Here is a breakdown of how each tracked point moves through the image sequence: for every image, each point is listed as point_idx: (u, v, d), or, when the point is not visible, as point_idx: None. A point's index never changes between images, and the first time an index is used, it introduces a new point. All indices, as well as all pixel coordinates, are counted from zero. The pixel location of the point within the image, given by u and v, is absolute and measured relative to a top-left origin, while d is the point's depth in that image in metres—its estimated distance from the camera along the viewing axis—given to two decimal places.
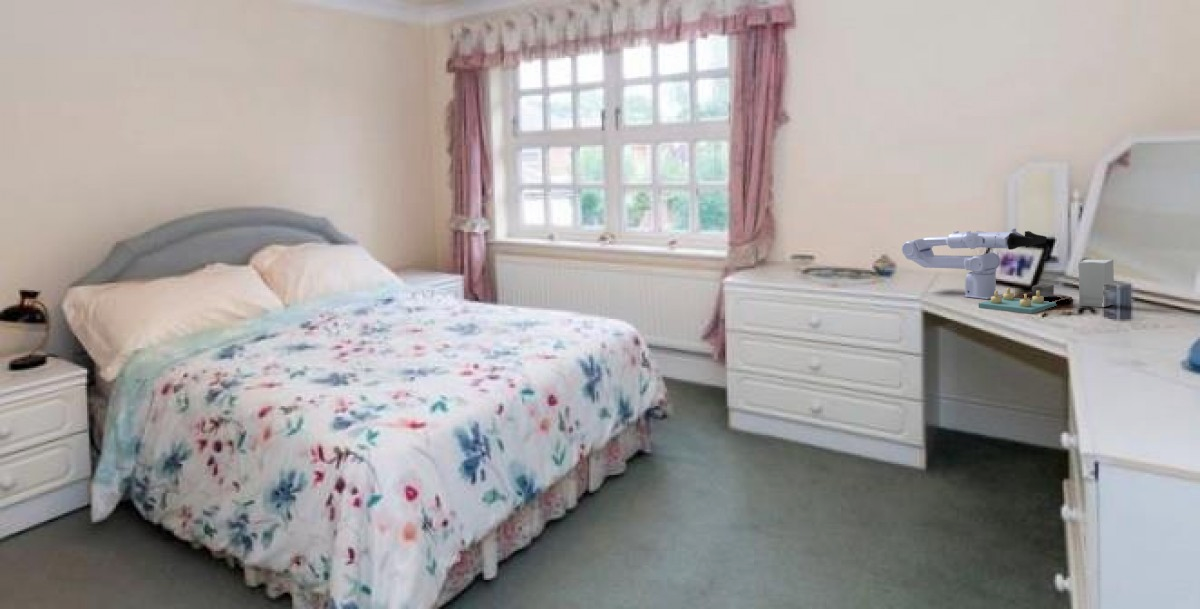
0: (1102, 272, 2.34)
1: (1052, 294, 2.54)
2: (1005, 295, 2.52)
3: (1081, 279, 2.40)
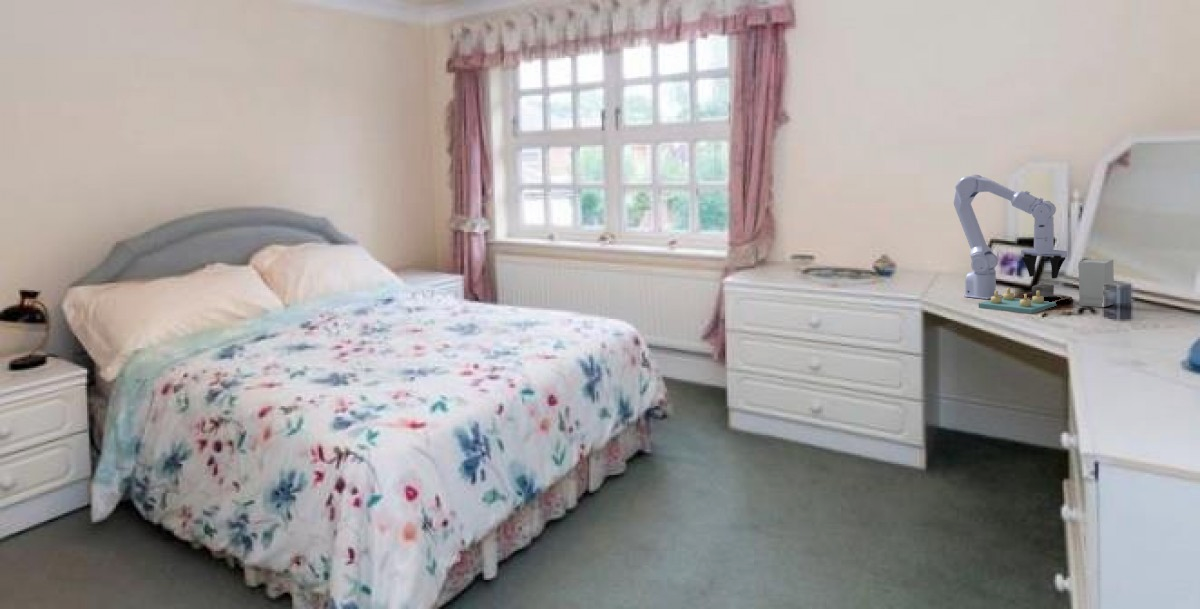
0: (1102, 272, 2.34)
1: (1052, 294, 2.54)
2: (1005, 295, 2.52)
3: (1081, 279, 2.40)
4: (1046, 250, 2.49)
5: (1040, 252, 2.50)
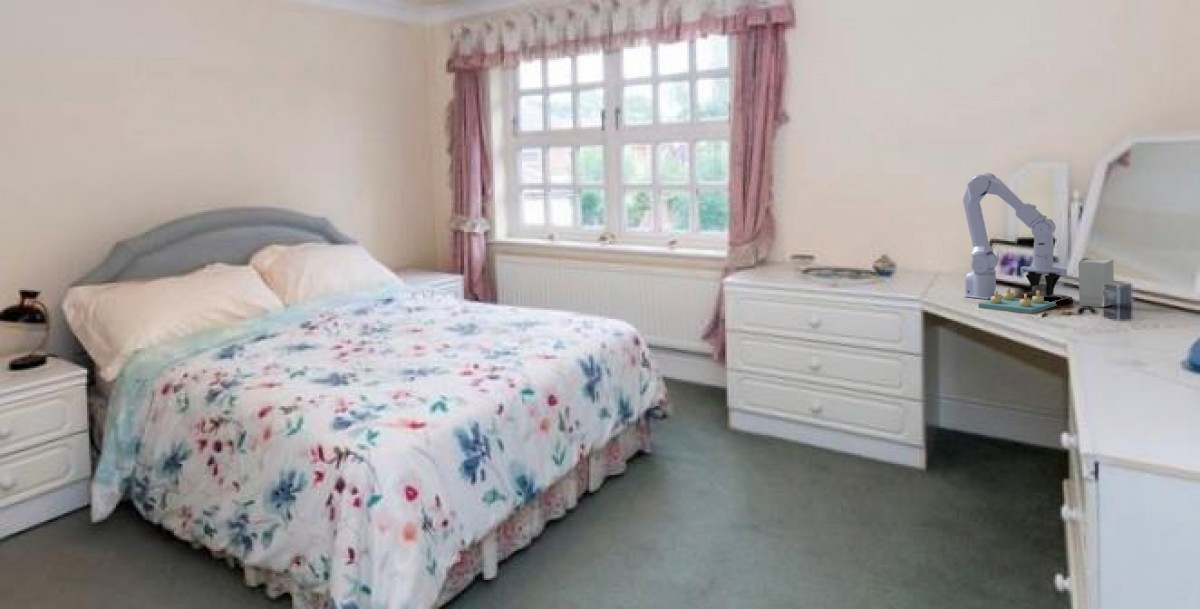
0: (1102, 272, 2.34)
1: (1052, 294, 2.54)
2: (1005, 295, 2.52)
3: (1081, 279, 2.40)
4: (1046, 268, 2.50)
5: (1040, 270, 2.51)
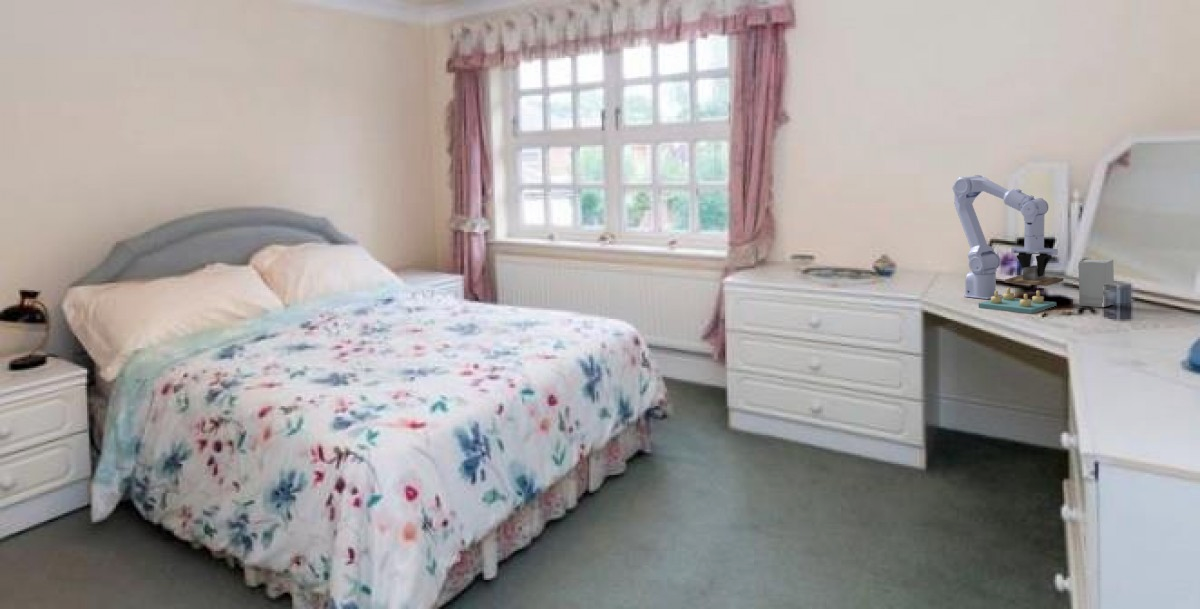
0: (1102, 272, 2.34)
1: (1043, 275, 2.50)
2: (1005, 295, 2.52)
3: (1081, 279, 2.40)
4: (1037, 248, 2.46)
5: (1031, 250, 2.47)
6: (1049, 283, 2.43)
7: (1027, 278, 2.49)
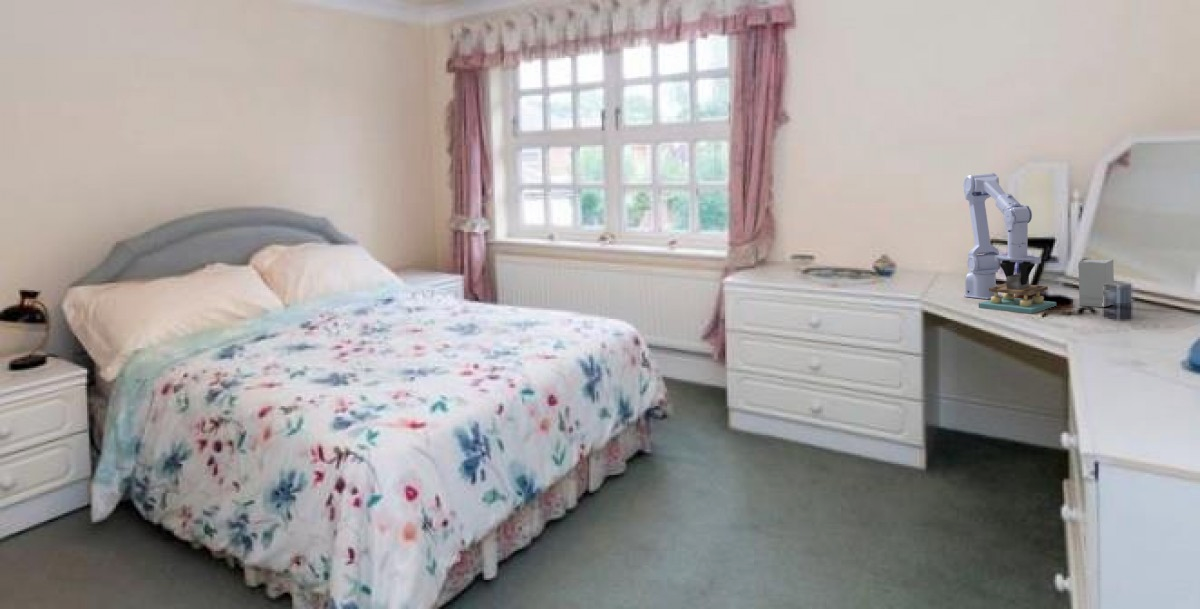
0: (1102, 272, 2.34)
1: (1027, 284, 2.46)
2: (1005, 295, 2.52)
3: (1081, 279, 2.40)
4: (1020, 256, 2.42)
5: (1014, 258, 2.43)
6: (1032, 292, 2.39)
7: (1011, 287, 2.45)
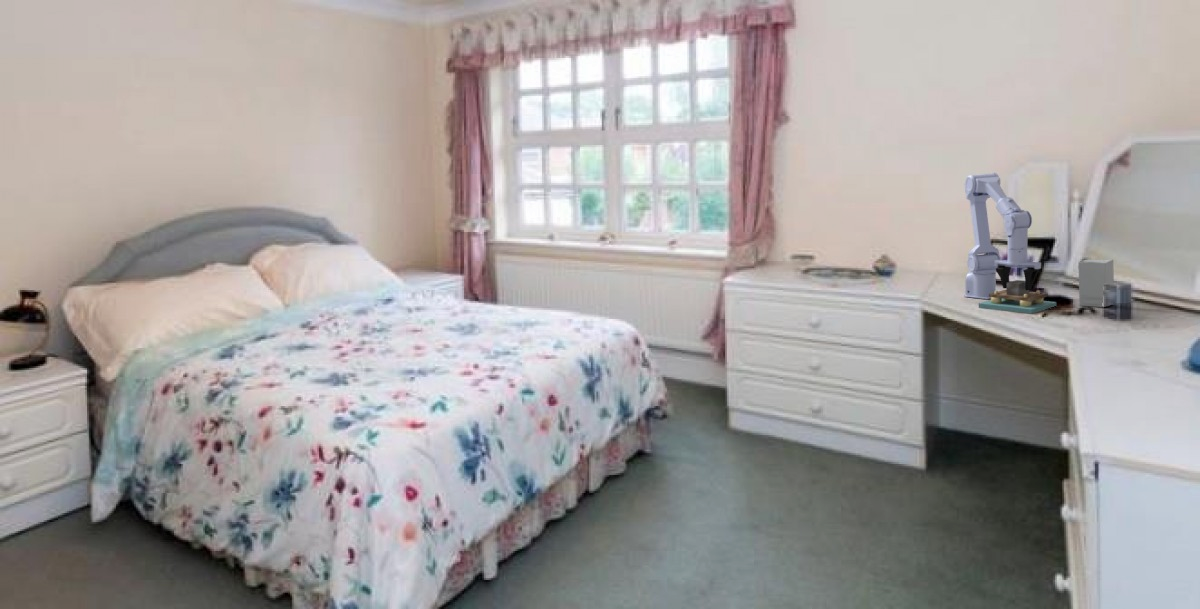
0: (1102, 272, 2.34)
1: (1027, 291, 2.46)
2: None
3: (1081, 279, 2.40)
4: (1020, 261, 2.42)
5: (1013, 263, 2.43)
6: (1032, 298, 2.39)
7: (1011, 293, 2.46)
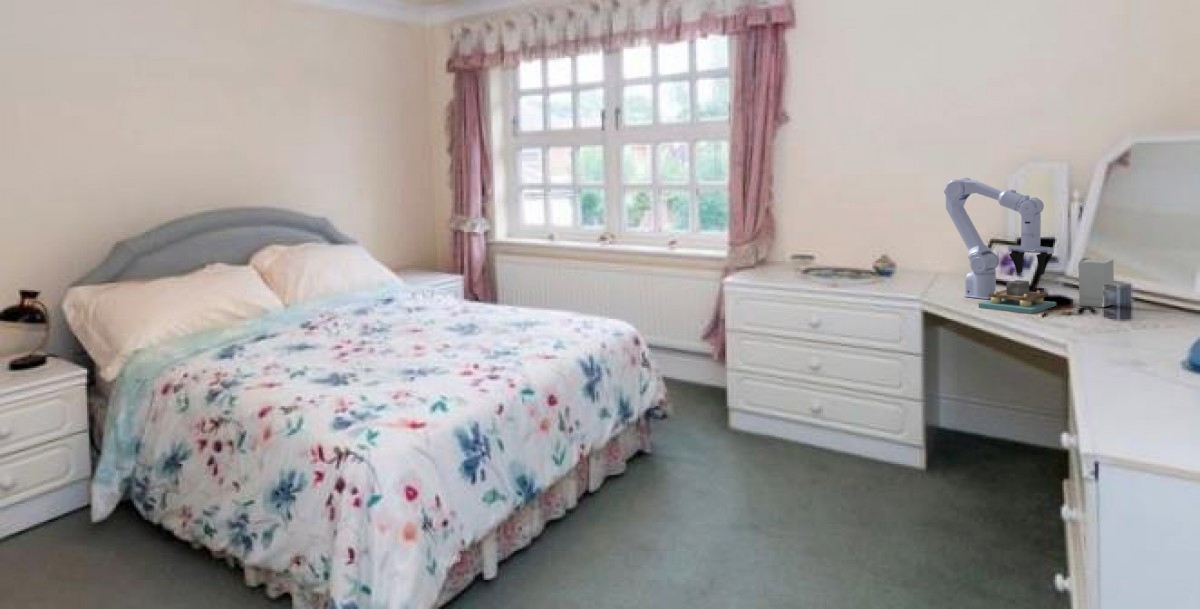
0: (1102, 272, 2.34)
1: (1027, 291, 2.46)
2: None
3: (1081, 279, 2.40)
4: (1033, 246, 2.50)
5: (1027, 248, 2.51)
6: (1032, 298, 2.39)
7: (1011, 293, 2.46)
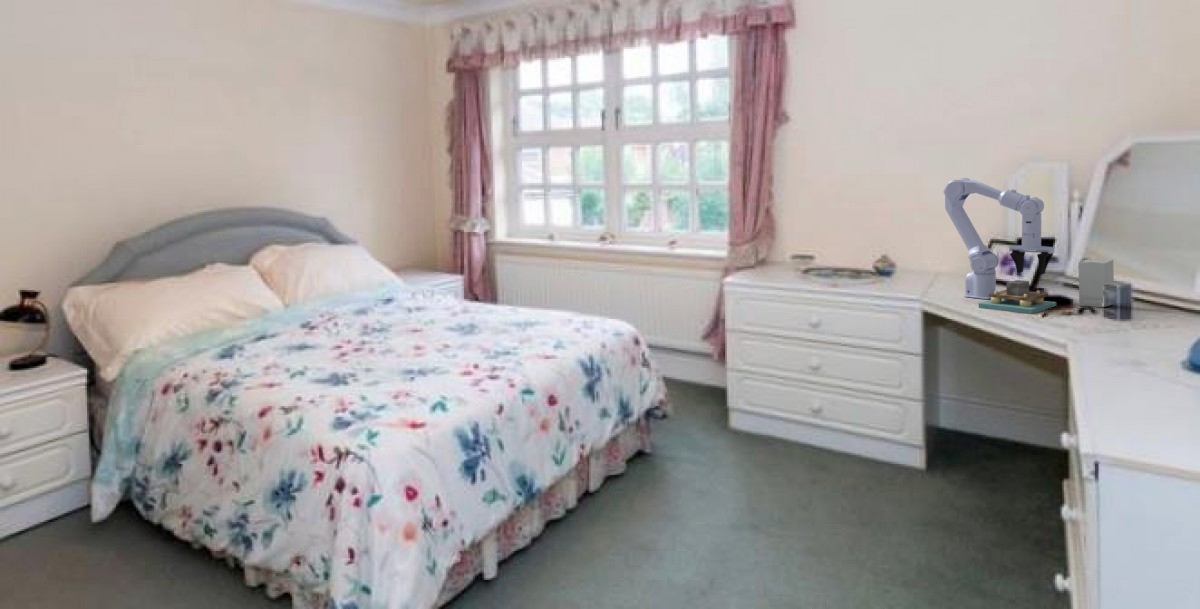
0: (1102, 272, 2.34)
1: (1027, 291, 2.46)
2: None
3: (1081, 279, 2.40)
4: (1034, 246, 2.50)
5: (1028, 248, 2.51)
6: (1032, 298, 2.39)
7: (1011, 293, 2.46)
